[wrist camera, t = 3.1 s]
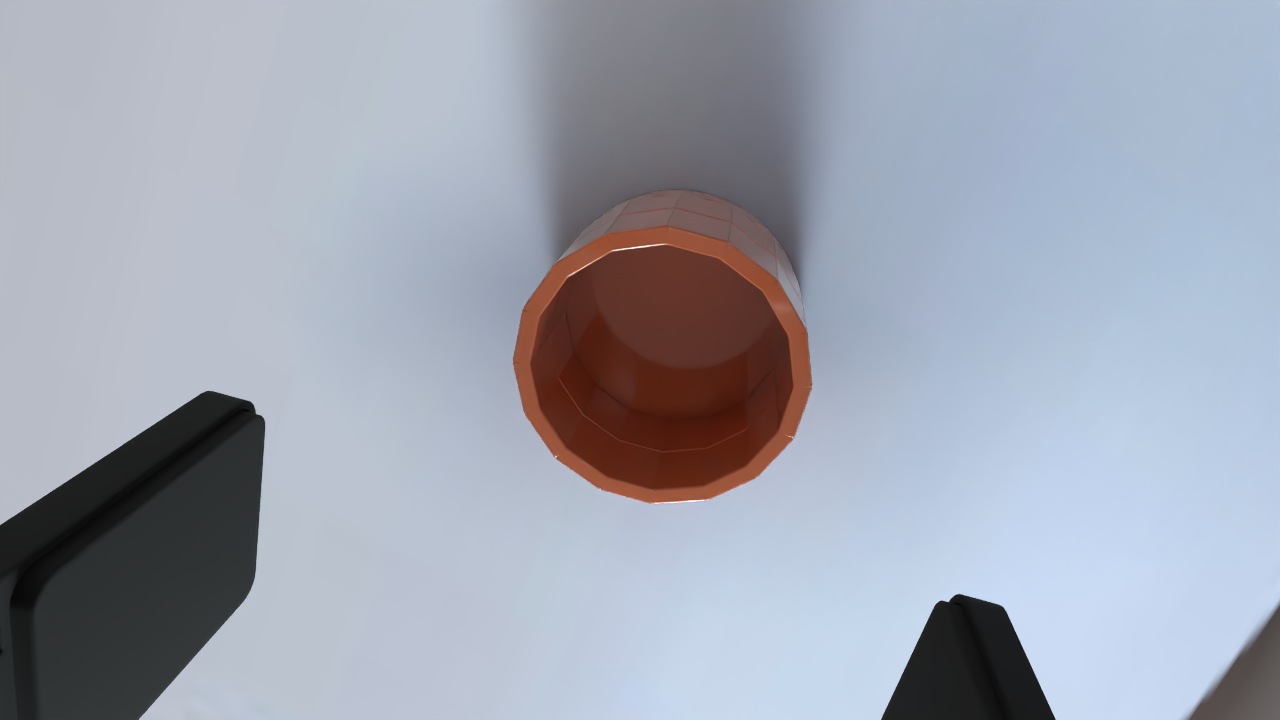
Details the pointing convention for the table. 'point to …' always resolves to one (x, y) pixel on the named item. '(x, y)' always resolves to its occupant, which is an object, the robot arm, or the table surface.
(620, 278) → the small cup
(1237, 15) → the table surface
